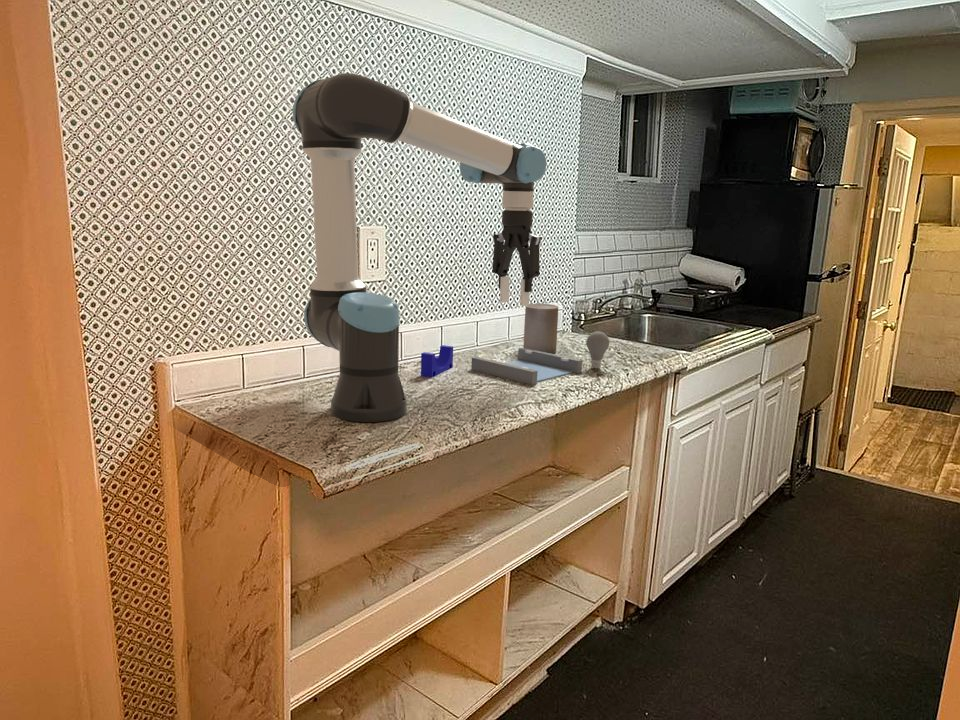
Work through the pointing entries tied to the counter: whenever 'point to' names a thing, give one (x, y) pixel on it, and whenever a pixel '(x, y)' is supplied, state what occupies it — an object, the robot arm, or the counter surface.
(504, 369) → the blue panel with rails
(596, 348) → the light bulb
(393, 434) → the counter surface
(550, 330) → the pillar candle
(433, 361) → the cable clip
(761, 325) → the counter surface
